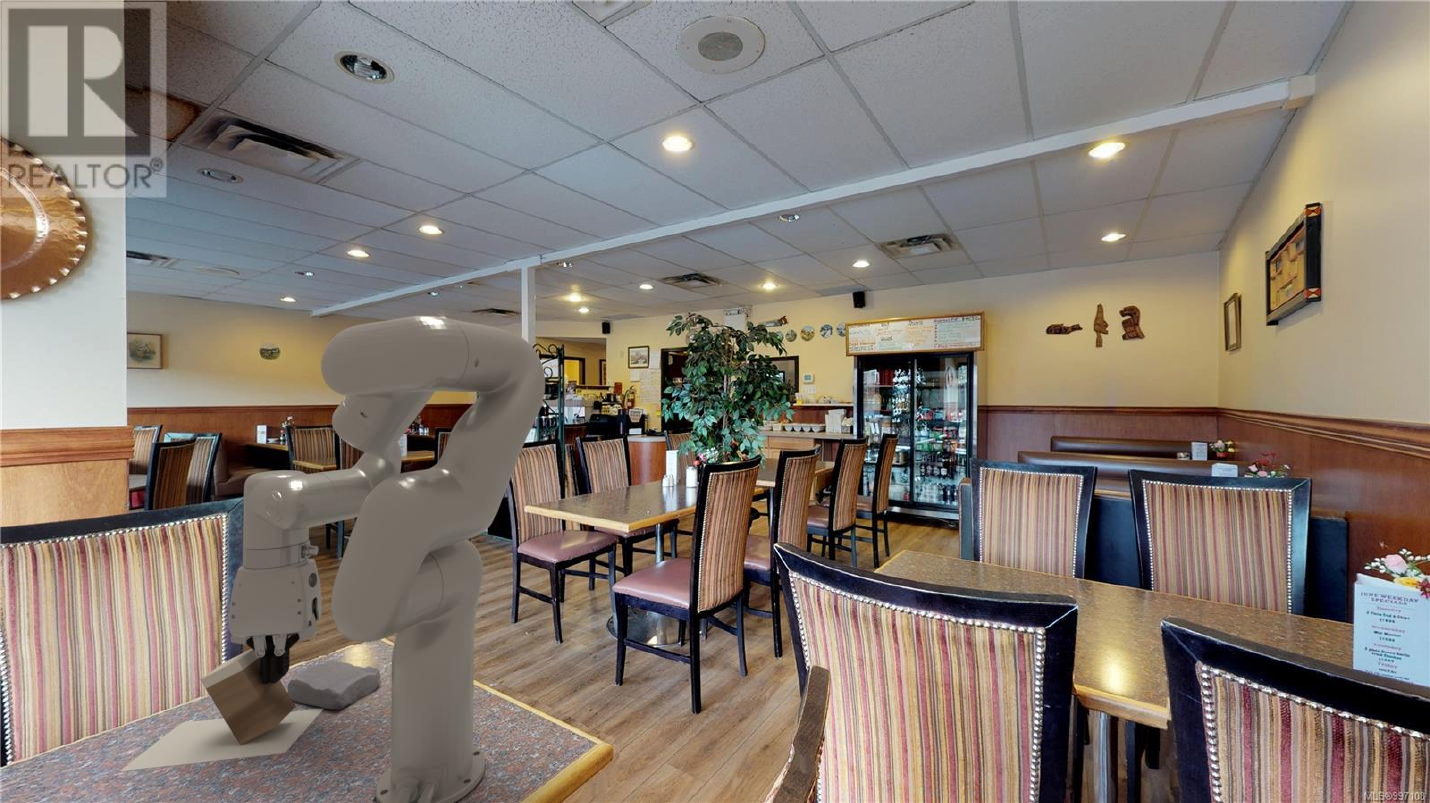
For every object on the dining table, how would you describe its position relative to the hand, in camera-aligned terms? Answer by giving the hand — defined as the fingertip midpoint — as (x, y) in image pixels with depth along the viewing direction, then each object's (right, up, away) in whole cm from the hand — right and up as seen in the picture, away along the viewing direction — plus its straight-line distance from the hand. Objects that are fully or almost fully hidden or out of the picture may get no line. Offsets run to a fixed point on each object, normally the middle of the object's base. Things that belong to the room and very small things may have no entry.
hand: (274, 678), depth 79 cm
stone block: (+2, -8, +11) cm, 14 cm away
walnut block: (-1, -7, 0) cm, 7 cm away
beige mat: (-5, -8, -1) cm, 10 cm away
